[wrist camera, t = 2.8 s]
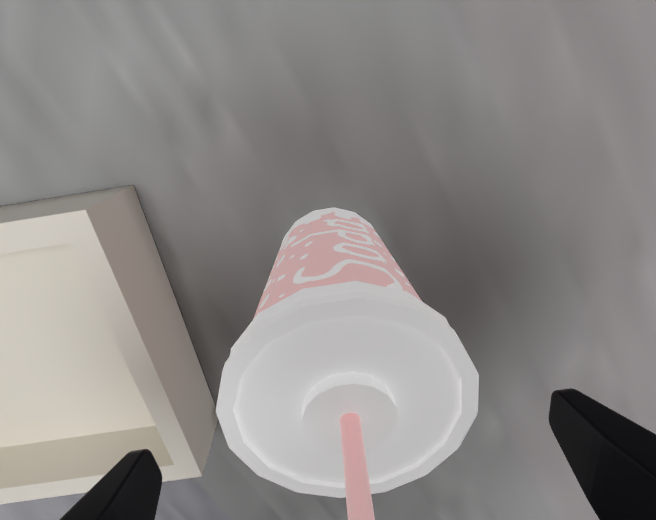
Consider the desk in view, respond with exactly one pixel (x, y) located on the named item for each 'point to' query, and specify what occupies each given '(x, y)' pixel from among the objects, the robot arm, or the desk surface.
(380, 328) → the beverage cup
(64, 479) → the tray
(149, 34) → the desk surface
